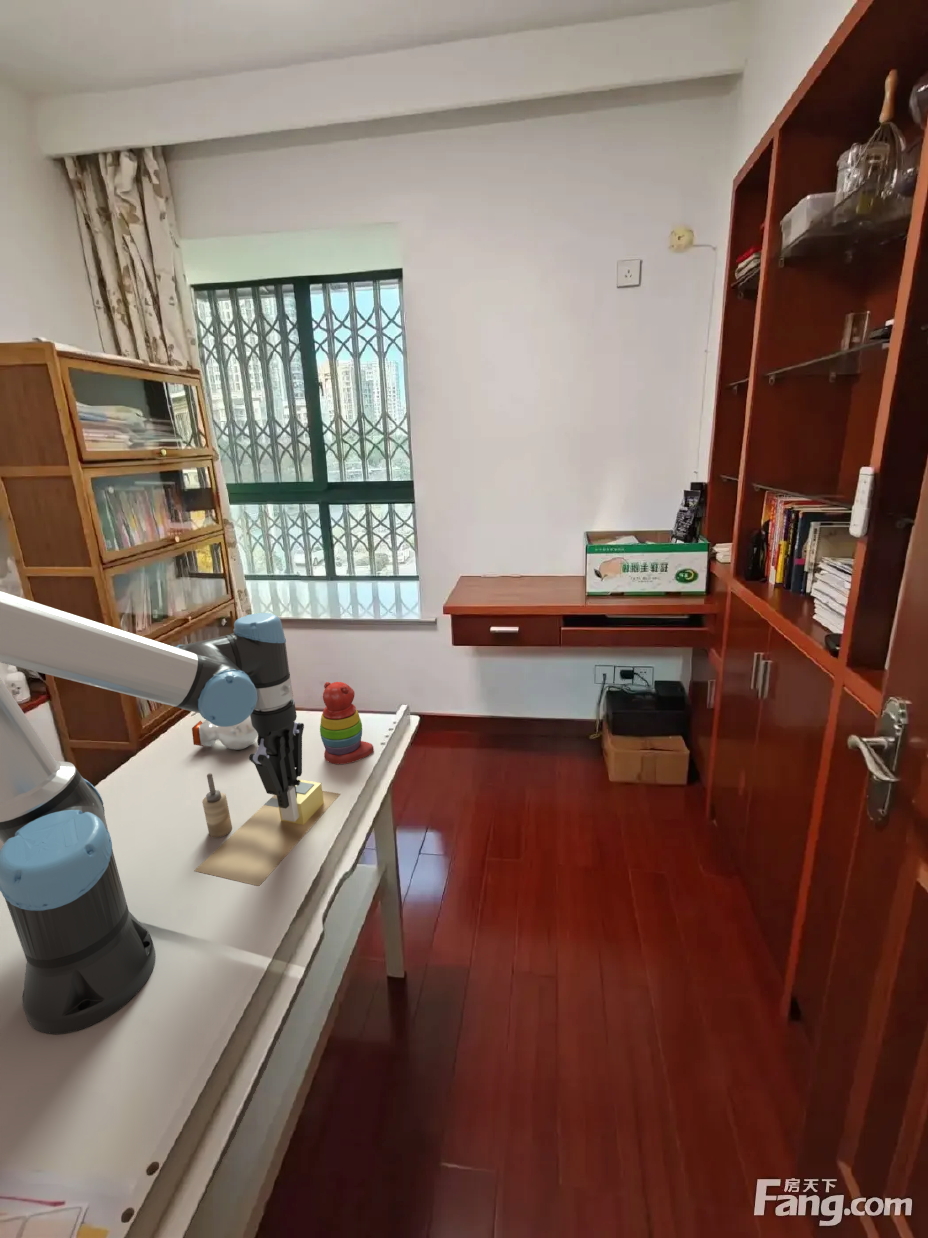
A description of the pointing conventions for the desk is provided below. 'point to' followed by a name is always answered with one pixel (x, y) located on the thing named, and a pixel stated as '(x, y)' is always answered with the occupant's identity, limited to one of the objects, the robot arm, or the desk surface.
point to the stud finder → (307, 800)
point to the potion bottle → (225, 734)
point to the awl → (216, 811)
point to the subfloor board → (260, 844)
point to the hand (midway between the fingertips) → (290, 818)
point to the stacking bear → (342, 726)
